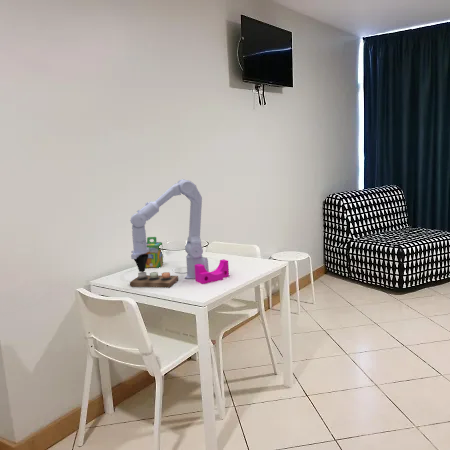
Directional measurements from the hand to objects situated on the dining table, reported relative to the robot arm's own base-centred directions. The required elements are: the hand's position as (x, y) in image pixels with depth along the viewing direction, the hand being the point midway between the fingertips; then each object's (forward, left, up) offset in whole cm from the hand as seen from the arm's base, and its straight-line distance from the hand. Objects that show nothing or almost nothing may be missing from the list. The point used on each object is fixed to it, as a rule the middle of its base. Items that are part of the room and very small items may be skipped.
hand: (142, 271), depth 194 cm
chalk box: (+7, -30, -6) cm, 31 cm away
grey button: (0, 0, -2) cm, 2 cm away
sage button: (-6, 0, -2) cm, 6 cm away
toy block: (-30, -8, -6) cm, 32 cm away
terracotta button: (-11, 0, -2) cm, 11 cm away
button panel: (-6, 0, -5) cm, 8 cm away
